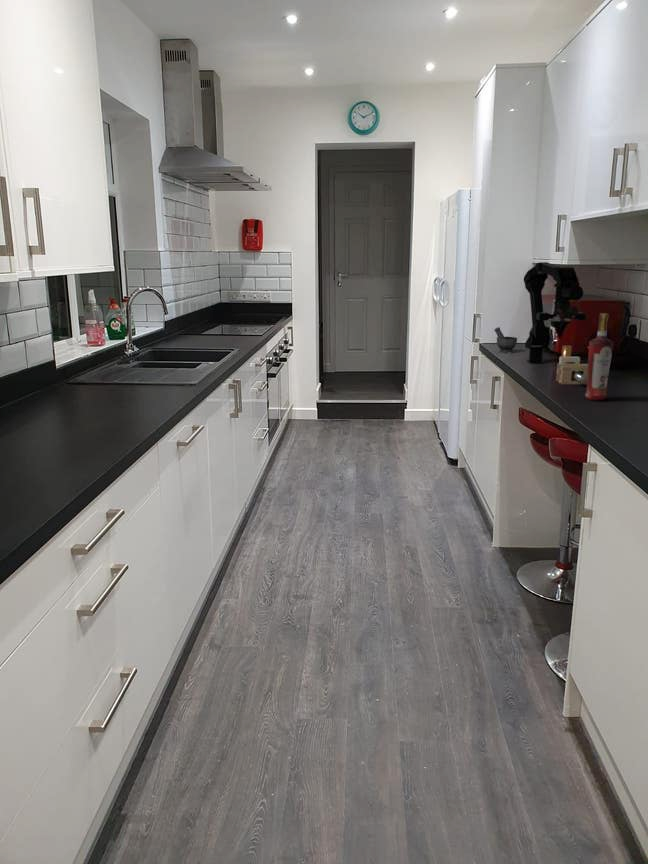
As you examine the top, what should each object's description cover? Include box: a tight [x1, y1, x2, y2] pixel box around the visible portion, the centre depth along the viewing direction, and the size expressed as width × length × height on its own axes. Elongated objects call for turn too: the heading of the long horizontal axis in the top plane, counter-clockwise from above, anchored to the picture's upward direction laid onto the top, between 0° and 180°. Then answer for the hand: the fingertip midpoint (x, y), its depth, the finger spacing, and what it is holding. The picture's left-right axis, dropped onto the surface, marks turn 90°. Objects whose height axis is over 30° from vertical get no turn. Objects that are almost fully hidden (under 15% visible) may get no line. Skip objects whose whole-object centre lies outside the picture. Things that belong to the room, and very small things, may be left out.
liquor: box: [584, 312, 614, 402], centre depth 217 cm, size 7×7×28 cm
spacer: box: [558, 356, 581, 378], centre depth 255 cm, size 3×7×8 cm, turn 87°
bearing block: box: [555, 363, 588, 385], centre depth 248 cm, size 7×11×6 cm, turn 87°
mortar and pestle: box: [494, 326, 518, 354], centre depth 322 cm, size 11×9×12 cm
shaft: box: [560, 344, 586, 383], centre depth 249 cm, size 23×6×12 cm, turn 177°
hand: (559, 337), depth 273 cm, fingers closed
